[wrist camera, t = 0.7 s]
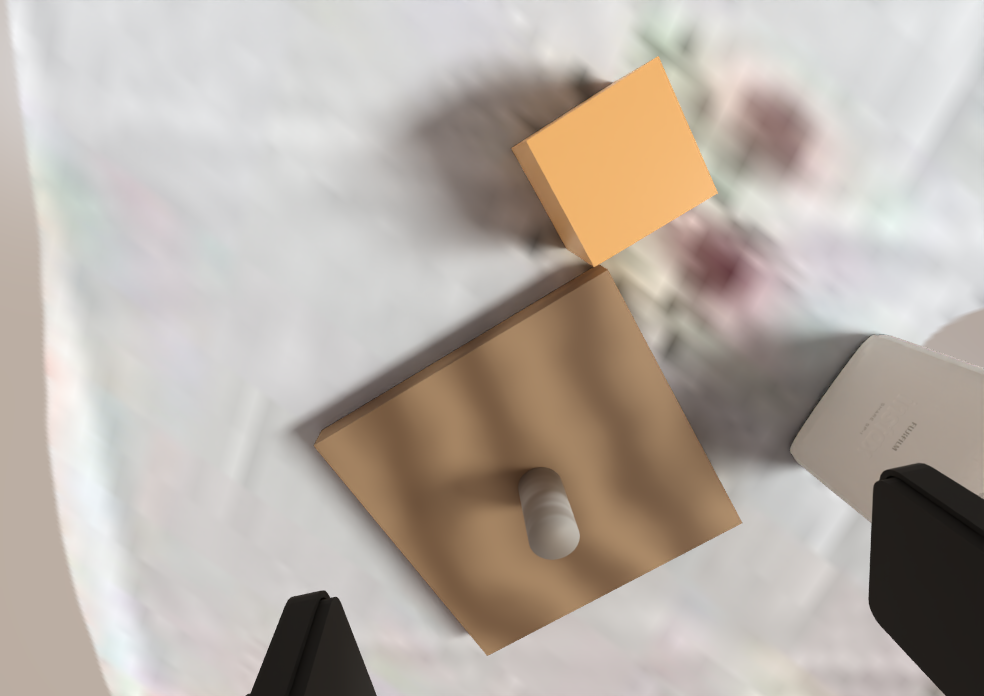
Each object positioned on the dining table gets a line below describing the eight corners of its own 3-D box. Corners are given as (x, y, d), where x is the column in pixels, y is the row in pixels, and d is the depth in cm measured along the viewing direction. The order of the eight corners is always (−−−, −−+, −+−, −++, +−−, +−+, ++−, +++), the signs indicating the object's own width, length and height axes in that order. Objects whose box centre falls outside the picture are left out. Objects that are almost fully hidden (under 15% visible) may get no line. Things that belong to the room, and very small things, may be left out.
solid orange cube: (614, 82, 28) (658, 56, 22) (664, 189, 30) (717, 193, 24) (511, 148, 29) (526, 140, 23) (566, 248, 31) (594, 267, 25)
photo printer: (869, 321, 33) (1092, 400, 22) (918, 348, 34) (1159, 438, 23) (774, 452, 36) (928, 585, 24) (823, 474, 37) (994, 614, 25)
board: (598, 264, 31) (637, 288, 24) (727, 505, 37) (786, 577, 30) (321, 430, 33) (288, 494, 27) (485, 632, 39) (492, 725, 33)
